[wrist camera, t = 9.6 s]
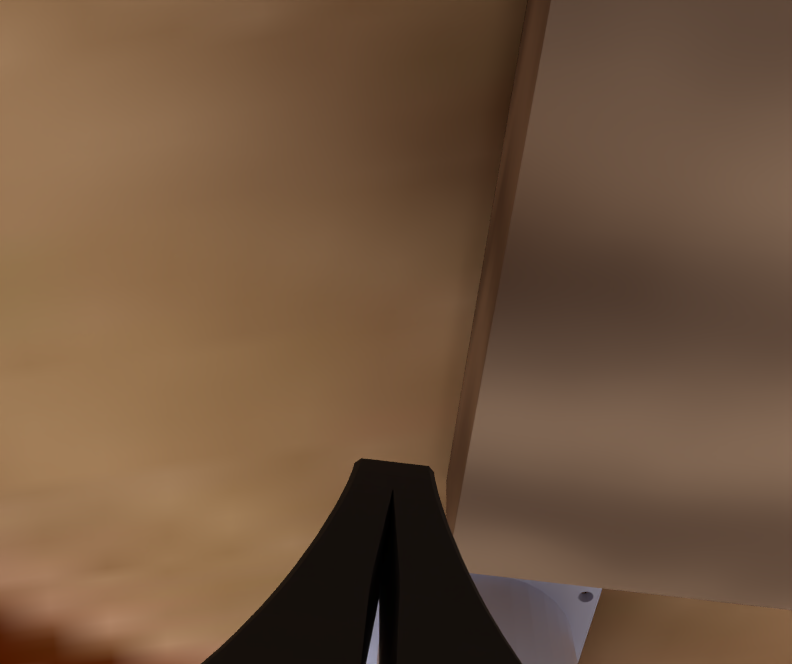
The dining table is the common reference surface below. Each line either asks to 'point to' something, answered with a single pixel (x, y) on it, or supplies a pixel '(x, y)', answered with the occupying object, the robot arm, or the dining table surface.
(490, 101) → the dining table surface
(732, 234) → the walnut board
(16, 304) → the dining table surface
